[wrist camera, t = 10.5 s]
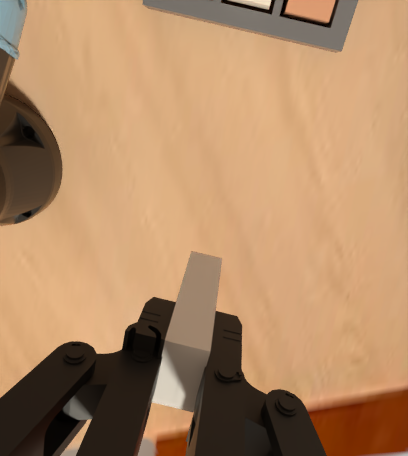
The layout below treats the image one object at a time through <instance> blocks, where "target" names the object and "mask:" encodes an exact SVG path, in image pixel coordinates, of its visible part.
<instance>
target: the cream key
mask: <svg viewBox="0 0 408 456" xmlns="http://www.w3.org/2000/svg"><path fill="white" fill-rule="evenodd" d="M227 1H231V2H235V3H240V4H244V5H248V6H252V7H257V8H261V9H265V10H268V9H269V7H270V3H271V0H227Z"/></svg>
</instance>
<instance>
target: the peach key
mask: <svg viewBox="0 0 408 456" xmlns="http://www.w3.org/2000/svg"><path fill="white" fill-rule="evenodd" d="M334 4H335V0H287V2H286V5H285V9H284V13H283V16H287V17H292V18H296V19H300V20H305V21H309V22H313V23H317V24H322V25H324V24H326V23H328V22H329V20H330V17H331V14H332V10H333V7H334Z"/></svg>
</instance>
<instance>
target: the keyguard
mask: <svg viewBox="0 0 408 456" xmlns="http://www.w3.org/2000/svg"><path fill="white" fill-rule="evenodd" d="M357 3H358V0H335V4H334V7H333V10H332V14H331V17H330V20H329V22H328V25H327V27H323V26H318V25H314V24H310V23H305V22H301V21H297V20H293V19H288V18H284V17H280V12H281V8H282V4H283V0H275V1H274V5H273V9H272V13H271V14H267V13H263V12H258V11H254V10H250V9H246V8H241V7H237V6H233V5H228V4H224V3H223V0H213V1H211V0H143V5H144V6H145V7H147V8H149V9H153V10H157V11H161V12H166V13H170V14H174V15H178V16H183V17H187V18H191V19H195V20H200V21H204V22H208V23H212V24H217V25H221V26H225V27H230V28H234V29H238V30H242V31H247V32H251V33H255V34H259V35H264V36H268V37H272V38H276V39H281V40H285V41H289V42H293V43H298V44H302V45H306V46H311V47H315V48H319V49H323V50H328V51H332V52H341V51H342V49H343V45H344V42H345V39H346V36H347V33H348V30H349V27H350V24H351V21H352V18H353V15H354V12H355V9H356V6H357Z"/></svg>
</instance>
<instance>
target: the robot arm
mask: <svg viewBox="0 0 408 456" xmlns="http://www.w3.org/2000/svg"><path fill="white" fill-rule="evenodd" d="M26 14H27V2H26V0H0V226H4V225H12V224H17V223H21V222H24V221H26V220H29V219H31V218H32V217H34V216H35V215H37V214H38V213H40V212H41V211H43V210H44V209H45V208H47V207H48V206H49V205H50V203H51V202H52V201H53V200H54V198H55V196H56V195H57V193H58V190H59V188H60V184H61V179H62V160H61V155H60V151H59V148H58V145H57V143H56V140H55V138H54V136H53V134H52V133H51V131H50V129H49V128H48V126H47V125H46V124H45V122H44V121H43V120H42V119H41V118H40V117H39V116H38V115H37V114H36V113H35V112H34V111H33V110H32V109H31V108H29V107H28V106H27V105H25V104H24V103H22V102H20V101H19V100H17V99H15V98H12V97H10V96H7V95H4V93H5V90H6V87H7V84H8V80H9V77H10V74H11V71H12V68H13V65H14V62H15V59H18V58H19V51H18V46H19V42H20V38H21V34H22V30H23V26H24V22H25V18H26ZM221 263H222V258H218V257H214V256H210V255H206V254H202V253H198V252H193V251H191V254H190V258H189V261H188V264H187V268H186V271H185V274H184V278H183V281H182V284H181V288H180V291H179V294H178V298H177V301H176V302H173V301H168V300H164V299H160V298H156V297H153V298H152V299H150V300H149V301H148V302H146V304H145V306H144V308H143V311H142V313H141V315H140V318H139V320H138V322H137V323H134V324H132V325H130V326H128V328H127V329H126V330H125V336H124V342H123V348H122V350H120V351H118V352H115V353H109V354H96V352H95V350H94V348H93V347H92V346H90V345H89V344H87V343H83V342H68V343H65V344H63V345H61V346H59V347H58V348H56V349H55V350H54V351H53V352H52V353H51V354H50V355H49V356H47V357H46V358H45V359H44V360H43V361H42V362H41V363H40V364H38V365H37V366H36V367H35V368H34V369H33V370H32V371H31V372H29V373H28V374H27V375H26V376H25V377H24V378H23V379H22V380H20V381H19V382H18V383H17V384H16V385H15V386H14V387H12V388H11V389H10V390H9V391H8V392H7V393H6V394H5V395H3V396H2V397H1V398H0V456H60V455H61V454H62V452H63V451H64V450H65V449H66V447H67V446H68V445H69V443H70V442H71V441H72V440H73V438H74V437H75V436H76V435H77V433H78V432H79V431H80V429H81V428H82V427H83V426H84V424H85V423H86V421H87V420H88V419H92V420H91V422H90V425H89V427H88V429H87V431H86V434H85V436H84V438H83V441H82V443H81V445H80V448H79V450H78V452H77V454H76V456H137V455H138V452H139V448H140V444H141V441H142V438H143V434H144V430H145V427H146V423H147V419H148V416H149V411H150V407H151V403H152V402H153V403H157V404H161V405H166V406H170V407H174V408H178V409H182V410H186V411H190V412H194V415H193V418H192V422H191V425H190V429H189V432H188V436H187V439H186V441H187V442H188V444H187V450H186V456H327V455H326V453H325V451H324V448H323V446H322V444H321V442H320V439H319V437H318V435H317V432H316V430H315V428H314V426H313V423H312V421H311V419H310V416H309V414H308V412H307V410H306V407H305V406H304V404H303V403H302V401H301V400H300V399H299V398H298V397H297V396H295V395H294V394H292V393H290V392H288V391H285V390H281V389H278V390H272V391H271V392H269V393H268V394H265V393H263V392H261V391H259V390H257V389H256V388H254V387H253V386H251V385H250V384H249V383H248V382H247V381H246V379H245V377H244V374H243V372H242V369H241V359H242V343H241V342H242V324H241V322H240V321H239V319H238V317H237V316H234V315H230V314H226V313H222V312H218V311H216V303H217V295H218V287H219V279H220V271H221Z"/></svg>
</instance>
